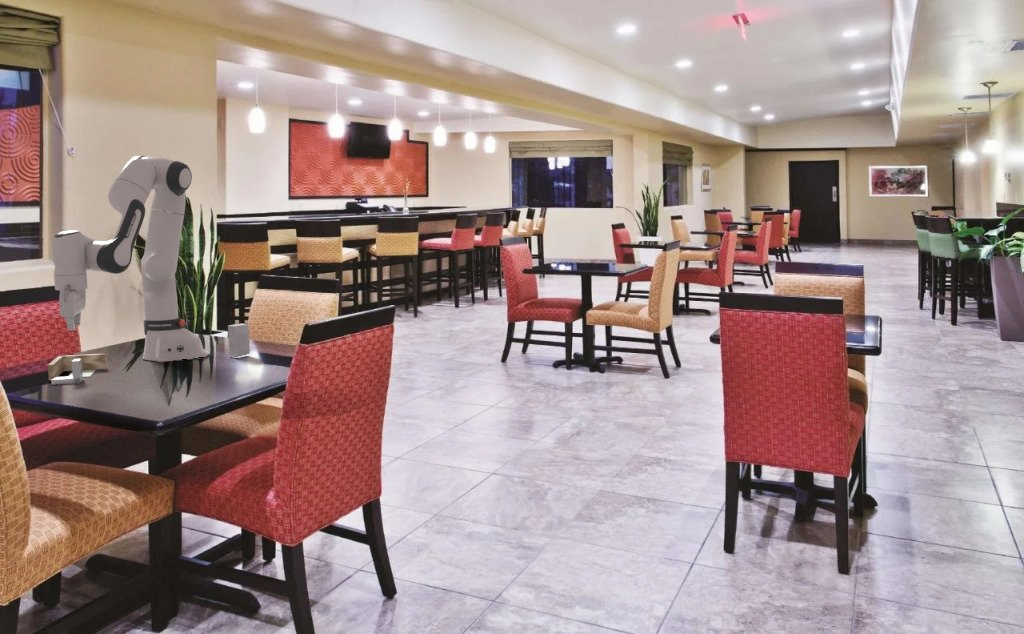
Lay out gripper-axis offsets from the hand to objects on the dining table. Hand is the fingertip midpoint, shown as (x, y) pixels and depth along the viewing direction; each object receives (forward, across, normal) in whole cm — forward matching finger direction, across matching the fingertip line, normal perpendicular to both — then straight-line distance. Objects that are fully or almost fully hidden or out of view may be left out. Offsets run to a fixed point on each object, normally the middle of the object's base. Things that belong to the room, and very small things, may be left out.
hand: (74, 328), depth 247 cm
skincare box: (+17, +27, -48) cm, 58 cm away
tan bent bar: (+17, +12, +2) cm, 21 cm away
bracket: (+17, 0, +3) cm, 17 cm away
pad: (+17, +12, +1) cm, 21 cm away
